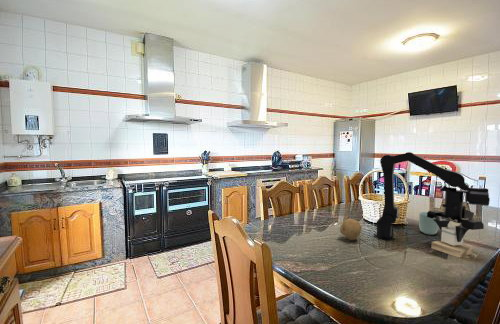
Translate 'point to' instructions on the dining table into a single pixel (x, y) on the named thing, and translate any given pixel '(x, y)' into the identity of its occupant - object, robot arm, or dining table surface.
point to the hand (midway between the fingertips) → (452, 239)
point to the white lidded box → (450, 236)
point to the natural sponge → (350, 229)
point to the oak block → (452, 248)
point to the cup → (427, 224)
